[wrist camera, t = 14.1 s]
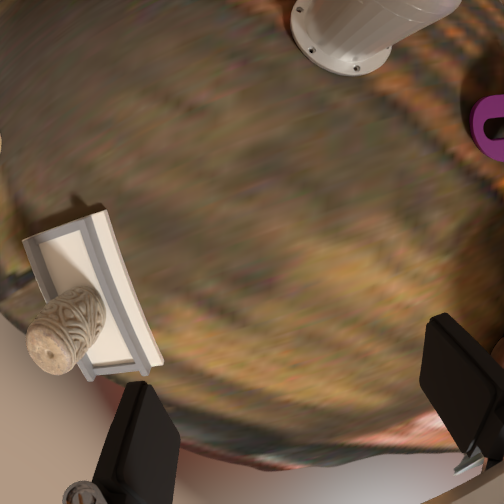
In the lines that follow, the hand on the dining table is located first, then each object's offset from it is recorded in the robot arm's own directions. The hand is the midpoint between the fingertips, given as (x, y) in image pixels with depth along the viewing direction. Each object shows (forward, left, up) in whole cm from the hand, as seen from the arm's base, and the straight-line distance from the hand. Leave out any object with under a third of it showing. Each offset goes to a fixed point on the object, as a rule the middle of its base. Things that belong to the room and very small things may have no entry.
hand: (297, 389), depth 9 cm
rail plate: (+6, -24, -28) cm, 37 cm away
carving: (+6, -24, -27) cm, 36 cm away
